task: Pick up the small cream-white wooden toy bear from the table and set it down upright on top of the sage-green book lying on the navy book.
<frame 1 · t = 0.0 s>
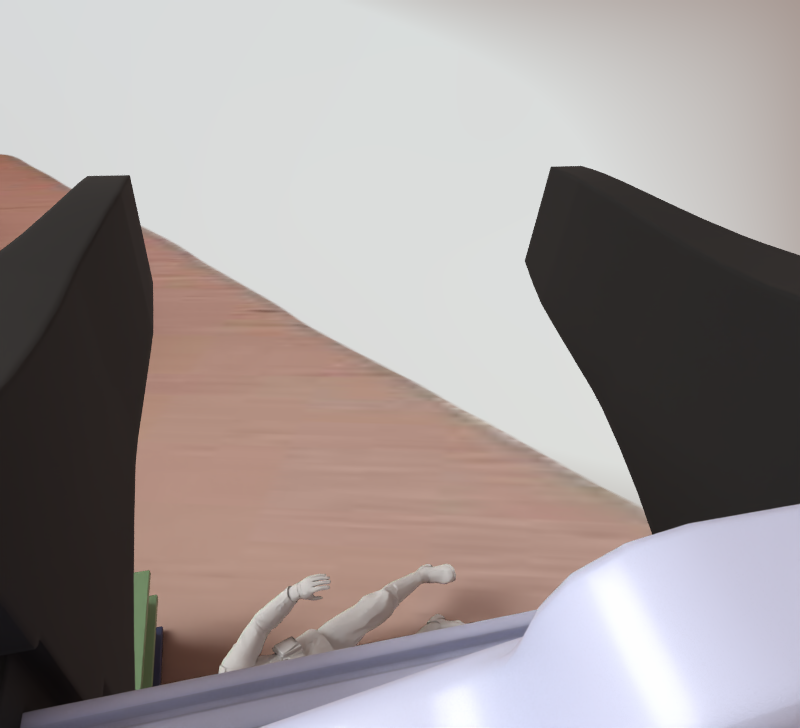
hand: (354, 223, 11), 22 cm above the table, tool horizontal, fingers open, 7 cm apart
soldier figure: (331, 685, 26), on the table
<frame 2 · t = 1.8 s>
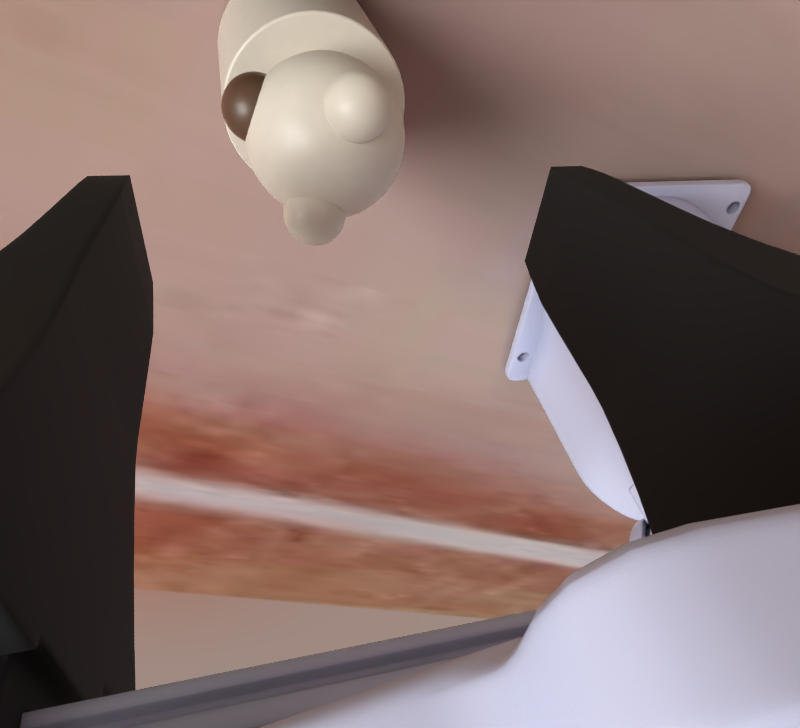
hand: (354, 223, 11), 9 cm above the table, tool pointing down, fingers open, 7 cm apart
toy bear: (297, 53, 17), on the table
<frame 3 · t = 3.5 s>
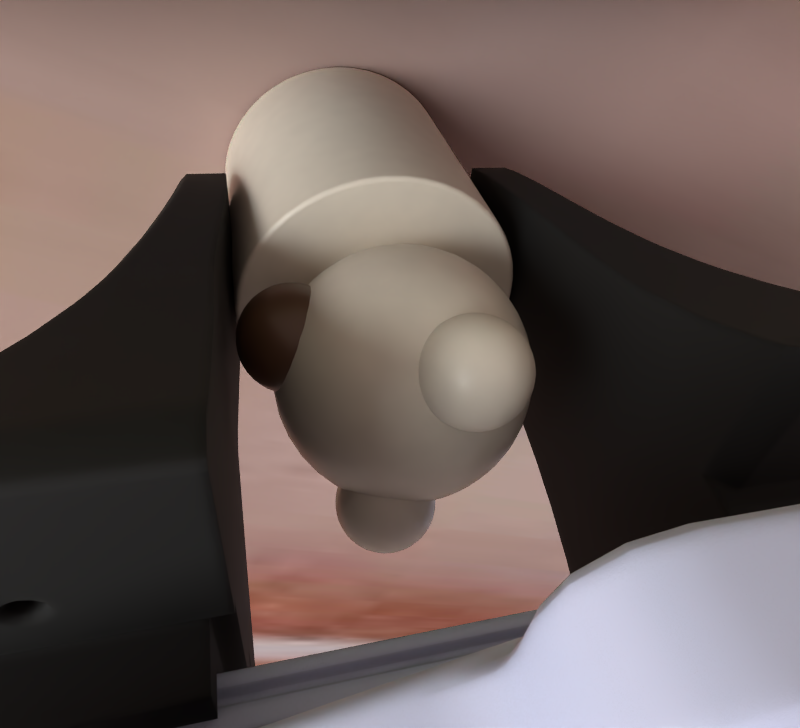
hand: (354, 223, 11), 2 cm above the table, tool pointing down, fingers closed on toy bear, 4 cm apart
toy bear: (337, 179, 12), on the table, touching gripper
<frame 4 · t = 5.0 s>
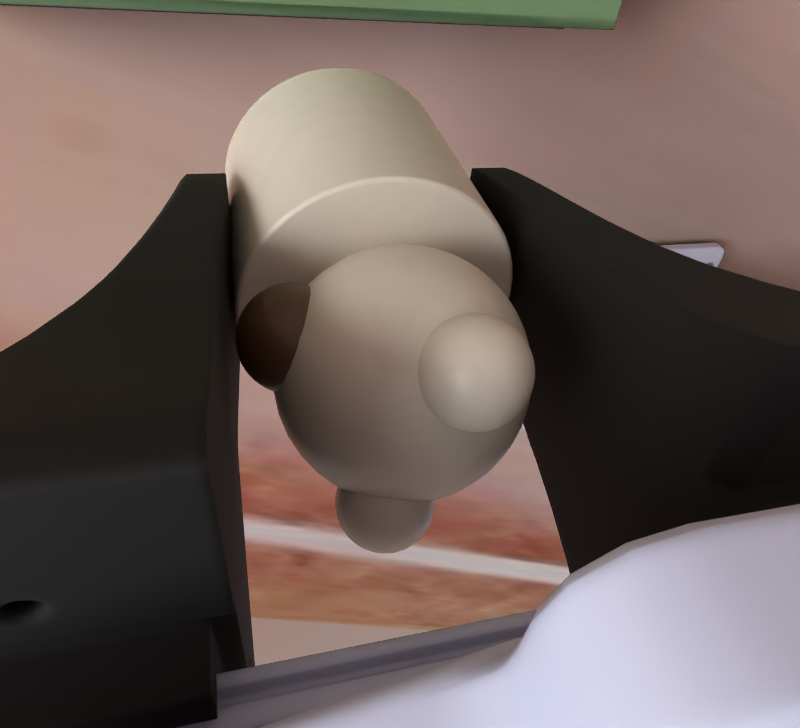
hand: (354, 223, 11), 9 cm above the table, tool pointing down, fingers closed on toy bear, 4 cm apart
toy bear: (337, 180, 12), point 7 cm above the table, touching gripper
when the fingers open (6 cm above the table, at t = 6.9 s): toy bear stays where it is, resting on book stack.
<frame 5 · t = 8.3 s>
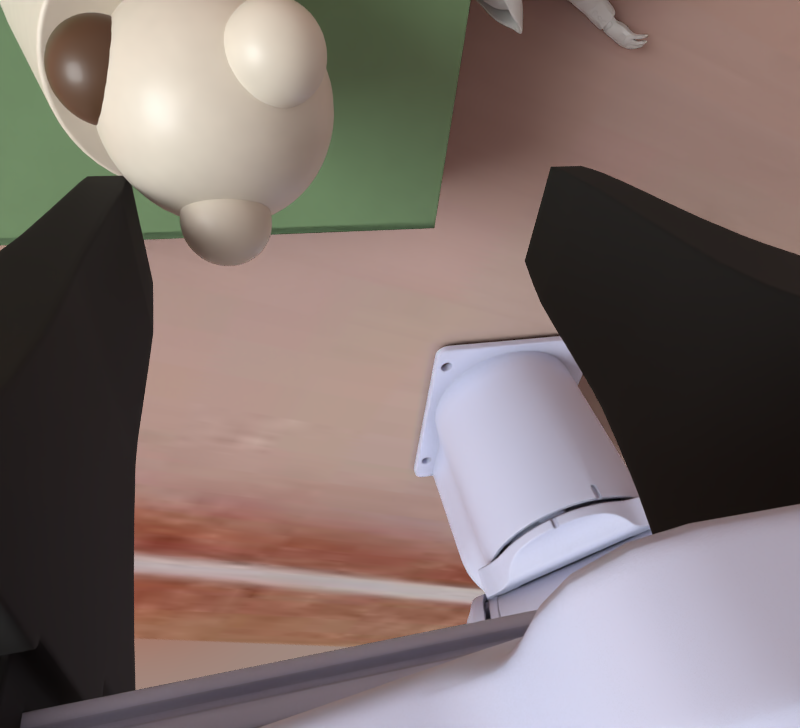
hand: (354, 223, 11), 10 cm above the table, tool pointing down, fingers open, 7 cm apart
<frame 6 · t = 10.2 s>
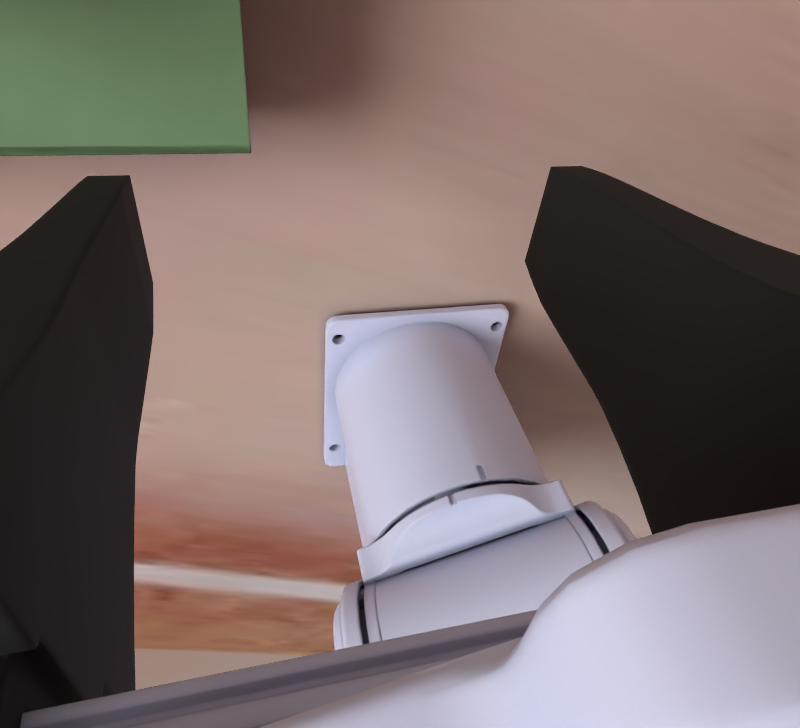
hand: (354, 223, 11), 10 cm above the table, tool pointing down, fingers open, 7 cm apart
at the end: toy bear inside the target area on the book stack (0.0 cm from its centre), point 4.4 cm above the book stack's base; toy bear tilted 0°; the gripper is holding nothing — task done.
